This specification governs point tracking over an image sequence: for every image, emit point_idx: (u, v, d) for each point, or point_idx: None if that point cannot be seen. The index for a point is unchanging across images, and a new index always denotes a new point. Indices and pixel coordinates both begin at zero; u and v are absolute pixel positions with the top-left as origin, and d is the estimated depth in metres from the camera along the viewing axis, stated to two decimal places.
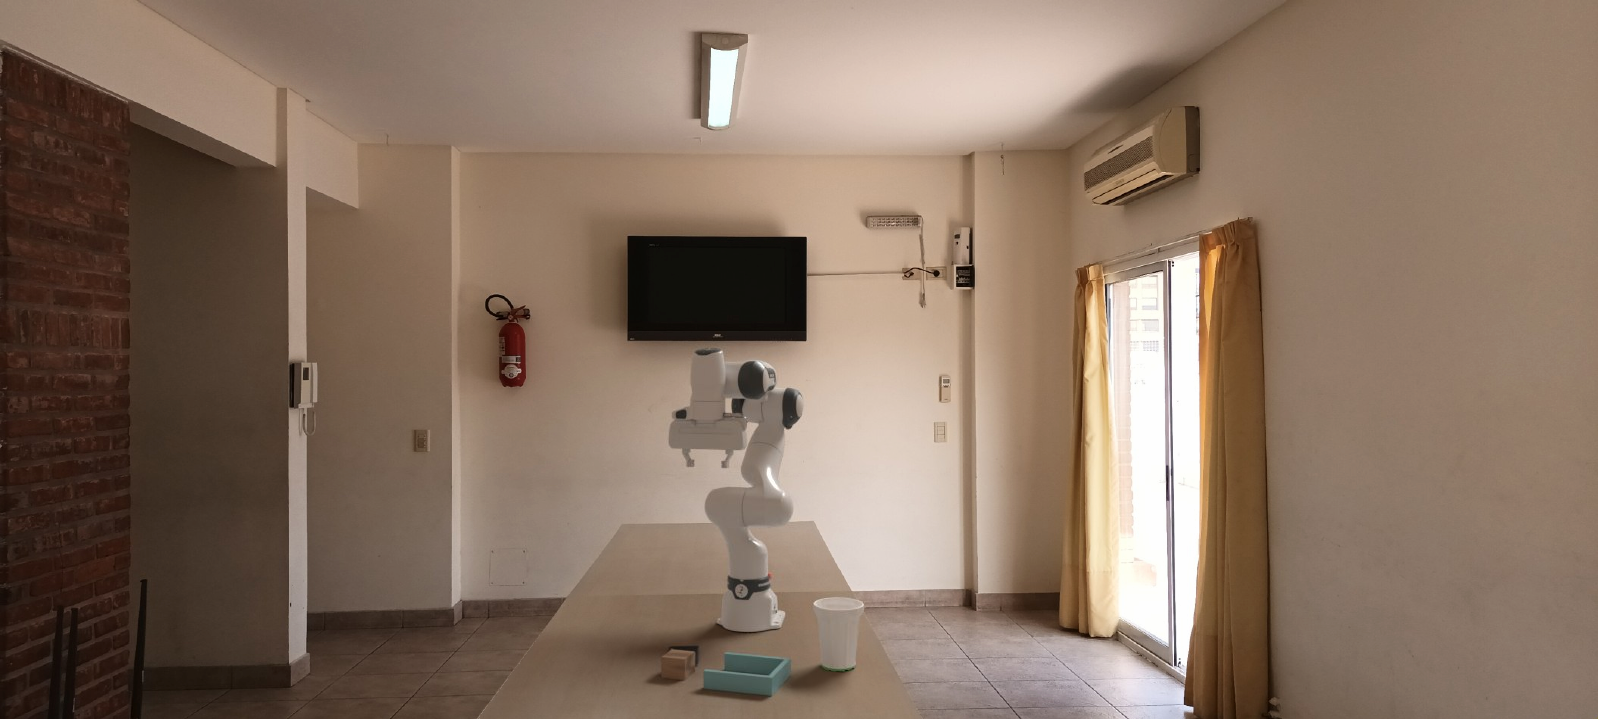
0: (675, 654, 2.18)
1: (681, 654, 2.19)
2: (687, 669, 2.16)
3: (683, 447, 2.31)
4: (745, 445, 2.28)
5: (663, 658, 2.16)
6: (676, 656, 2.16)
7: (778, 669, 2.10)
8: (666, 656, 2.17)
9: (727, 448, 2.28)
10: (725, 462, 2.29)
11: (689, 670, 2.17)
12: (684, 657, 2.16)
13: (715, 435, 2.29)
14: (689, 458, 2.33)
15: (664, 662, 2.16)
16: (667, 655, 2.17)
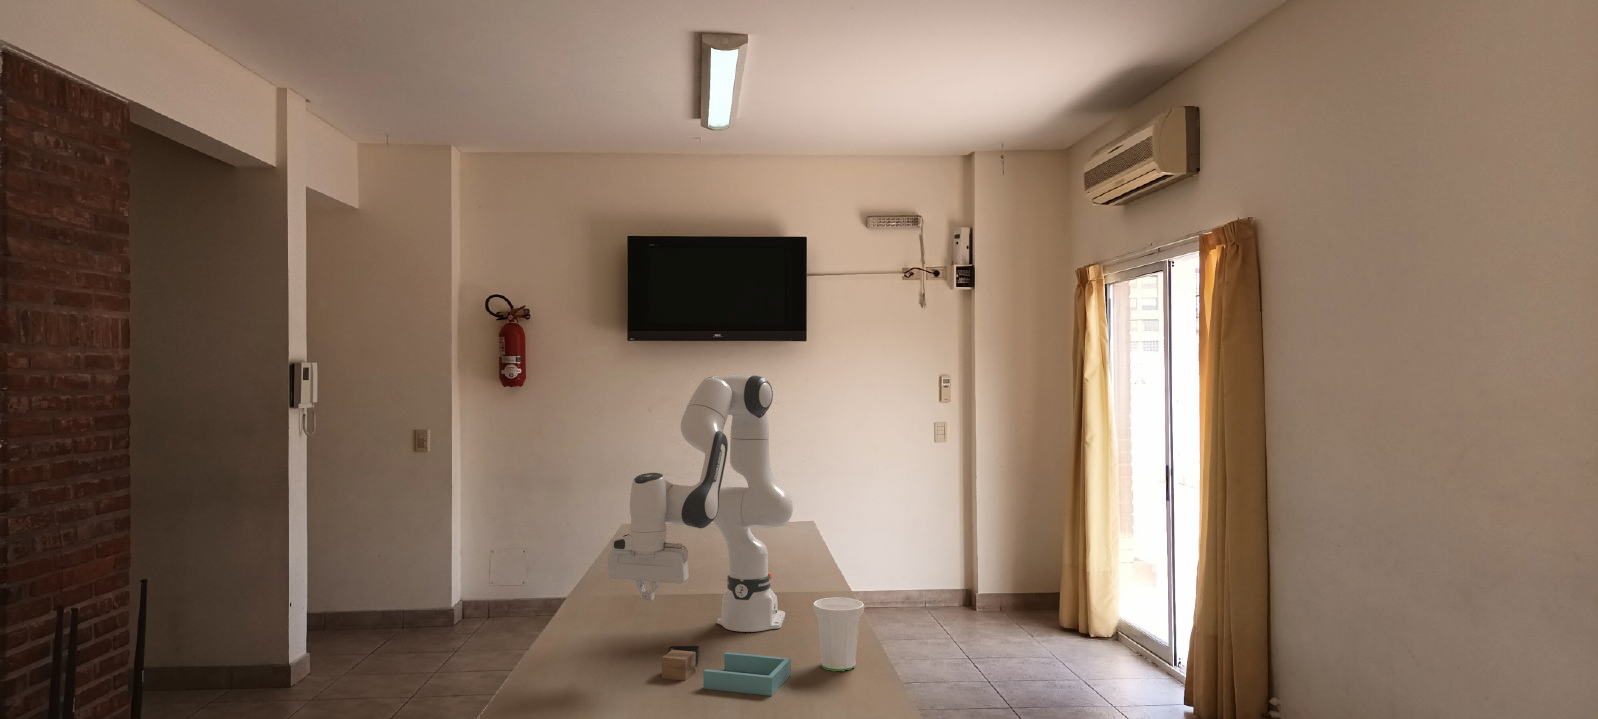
0: (676, 654, 2.18)
1: (681, 654, 2.18)
2: (687, 669, 2.16)
3: (622, 578, 2.21)
4: (686, 577, 2.18)
5: (663, 659, 2.16)
6: (676, 657, 2.16)
7: (778, 669, 2.10)
8: (667, 656, 2.16)
9: (667, 581, 2.17)
10: (650, 594, 2.20)
11: (690, 670, 2.17)
12: (685, 657, 2.16)
13: (654, 567, 2.18)
14: (643, 590, 2.21)
15: (665, 663, 2.16)
16: (668, 655, 2.17)
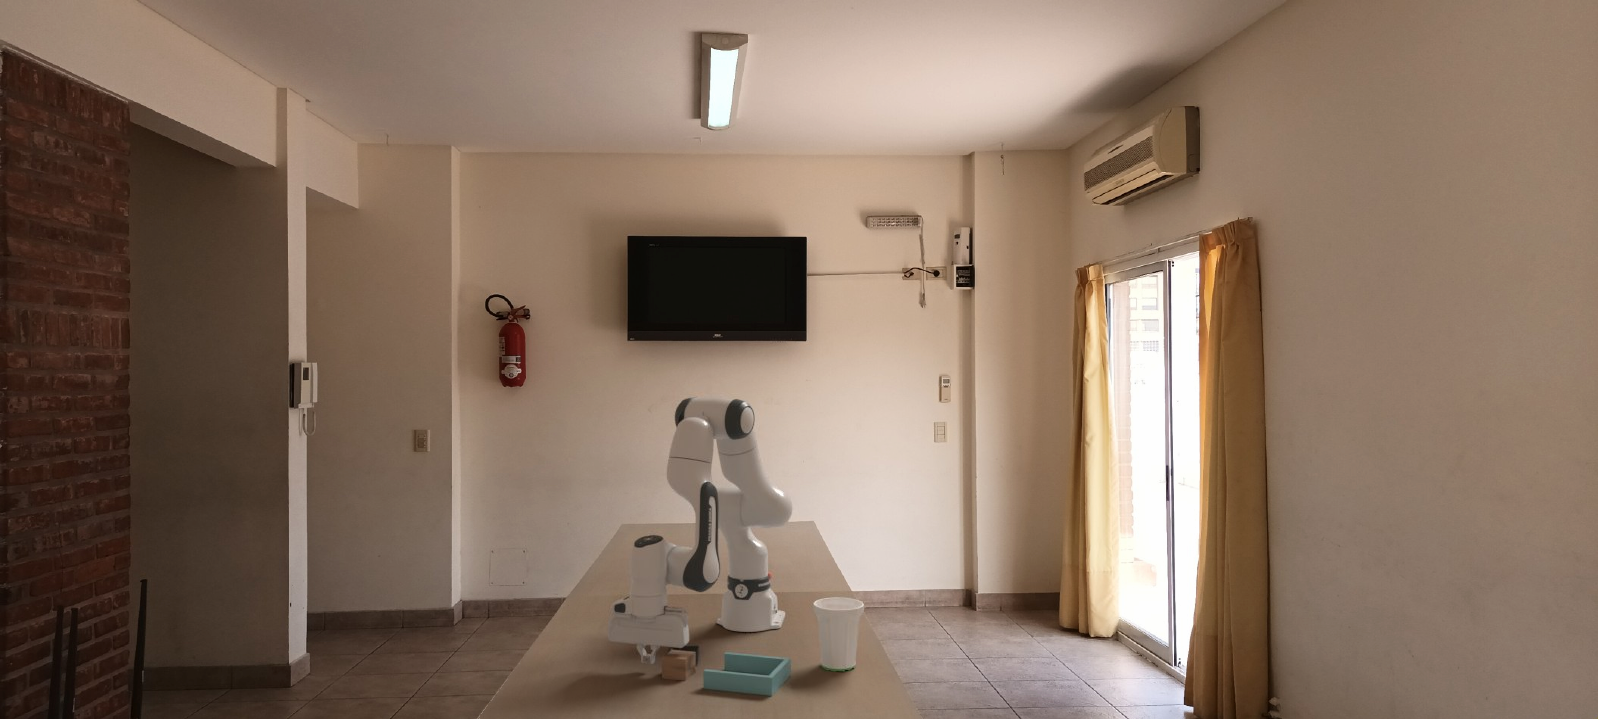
0: (676, 654, 2.18)
1: (681, 654, 2.18)
2: (688, 669, 2.16)
3: (622, 641, 2.21)
4: (687, 641, 2.18)
5: (663, 659, 2.16)
6: (676, 657, 2.16)
7: (778, 669, 2.10)
8: (667, 656, 2.16)
9: (668, 645, 2.17)
10: (650, 657, 2.20)
11: (690, 670, 2.17)
12: (685, 657, 2.16)
13: (655, 630, 2.18)
14: (644, 653, 2.21)
15: (665, 663, 2.16)
16: (668, 655, 2.17)
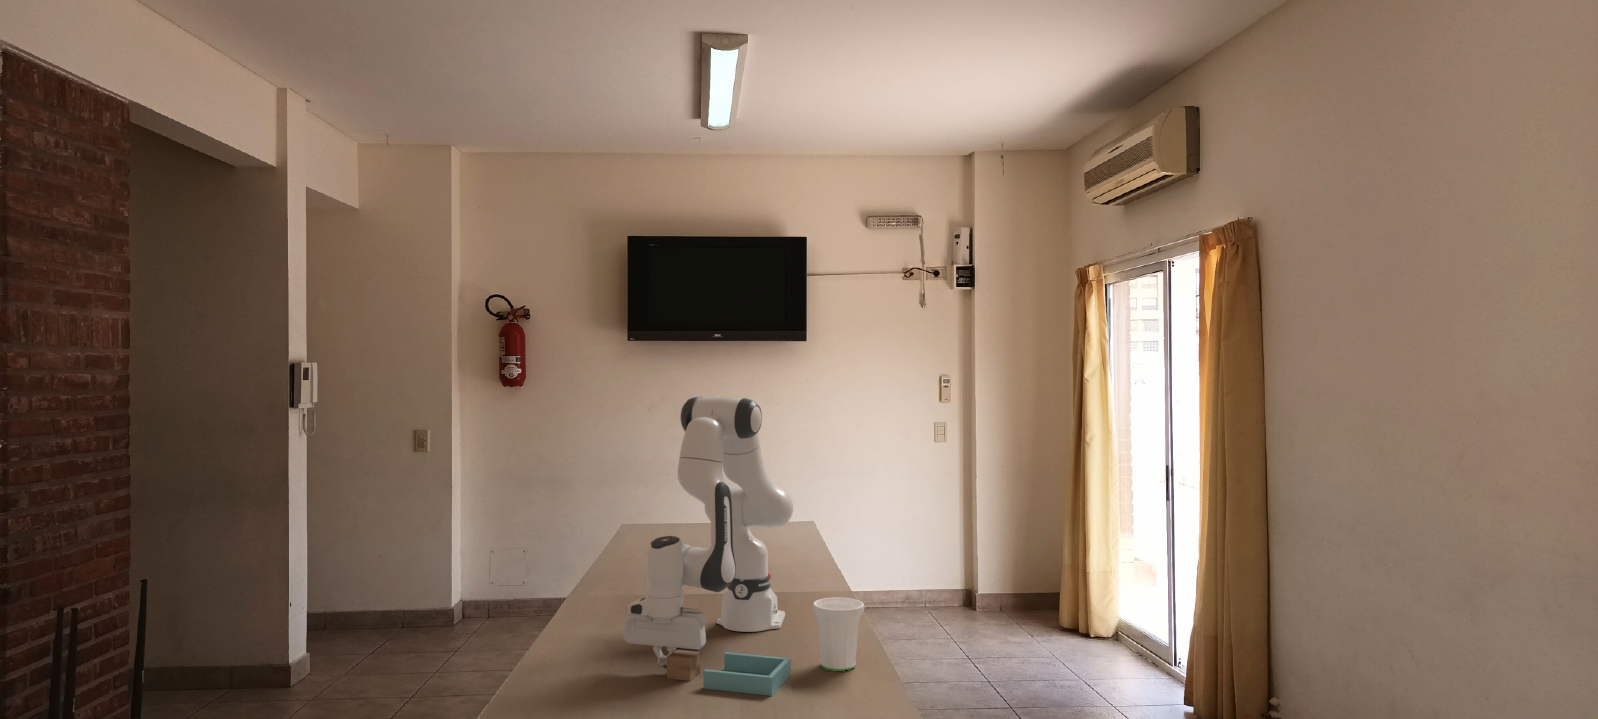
0: (681, 654, 2.17)
1: (686, 654, 2.18)
2: (692, 669, 2.15)
3: (639, 642, 2.20)
4: (703, 643, 2.17)
5: (668, 659, 2.16)
6: (681, 657, 2.16)
7: (778, 669, 2.10)
8: (671, 656, 2.16)
9: (684, 647, 2.16)
10: None
11: (694, 670, 2.17)
12: (689, 657, 2.15)
13: (671, 632, 2.17)
14: (661, 654, 2.20)
15: (669, 663, 2.15)
16: (672, 655, 2.17)
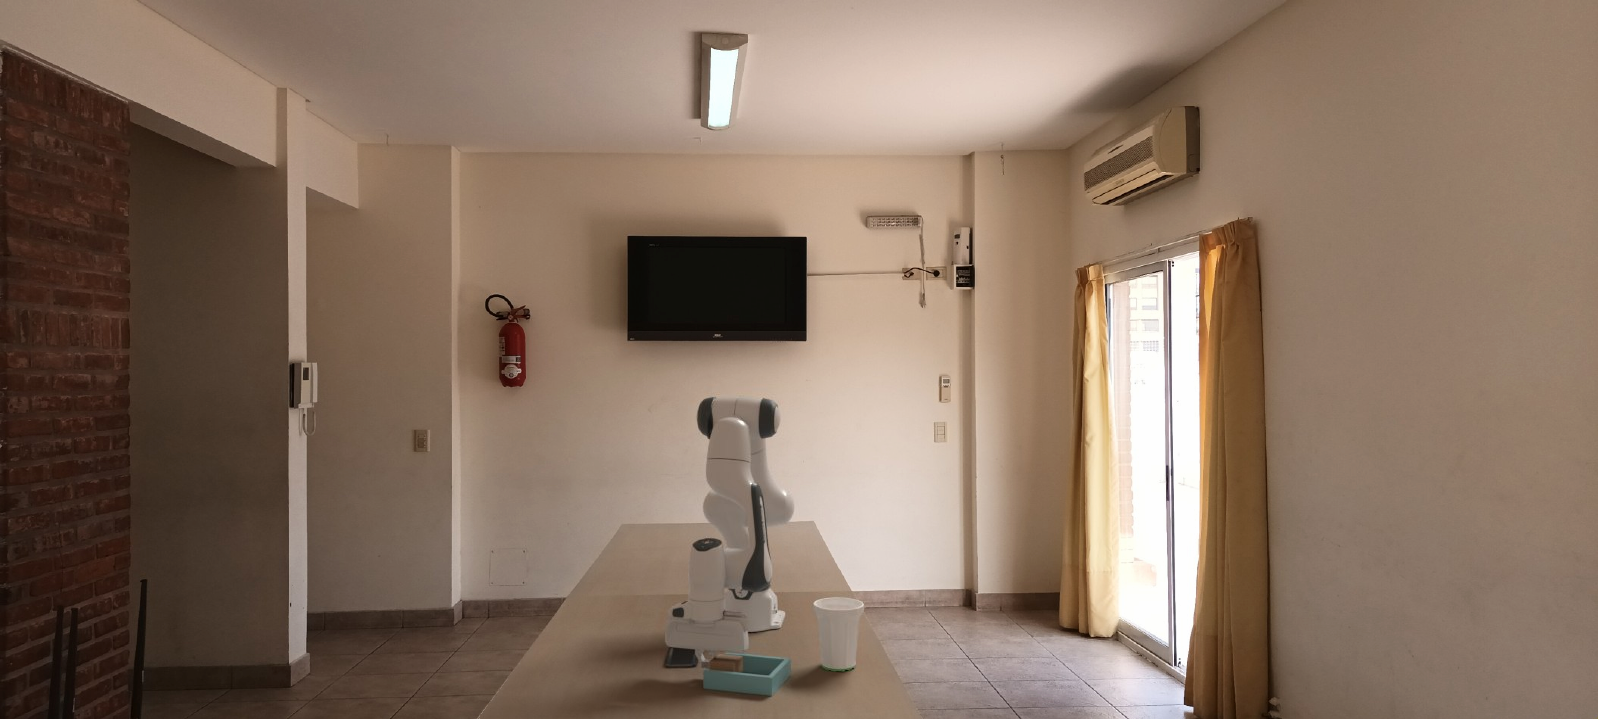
0: (723, 659, 2.14)
1: (729, 658, 2.15)
2: None
3: (680, 646, 2.16)
4: (746, 647, 2.14)
5: (711, 663, 2.12)
6: (724, 661, 2.12)
7: (778, 669, 2.10)
8: (714, 661, 2.13)
9: (727, 651, 2.13)
10: None
11: None
12: (732, 662, 2.12)
13: (714, 636, 2.14)
14: (703, 658, 2.17)
15: (712, 667, 2.12)
16: (715, 660, 2.14)
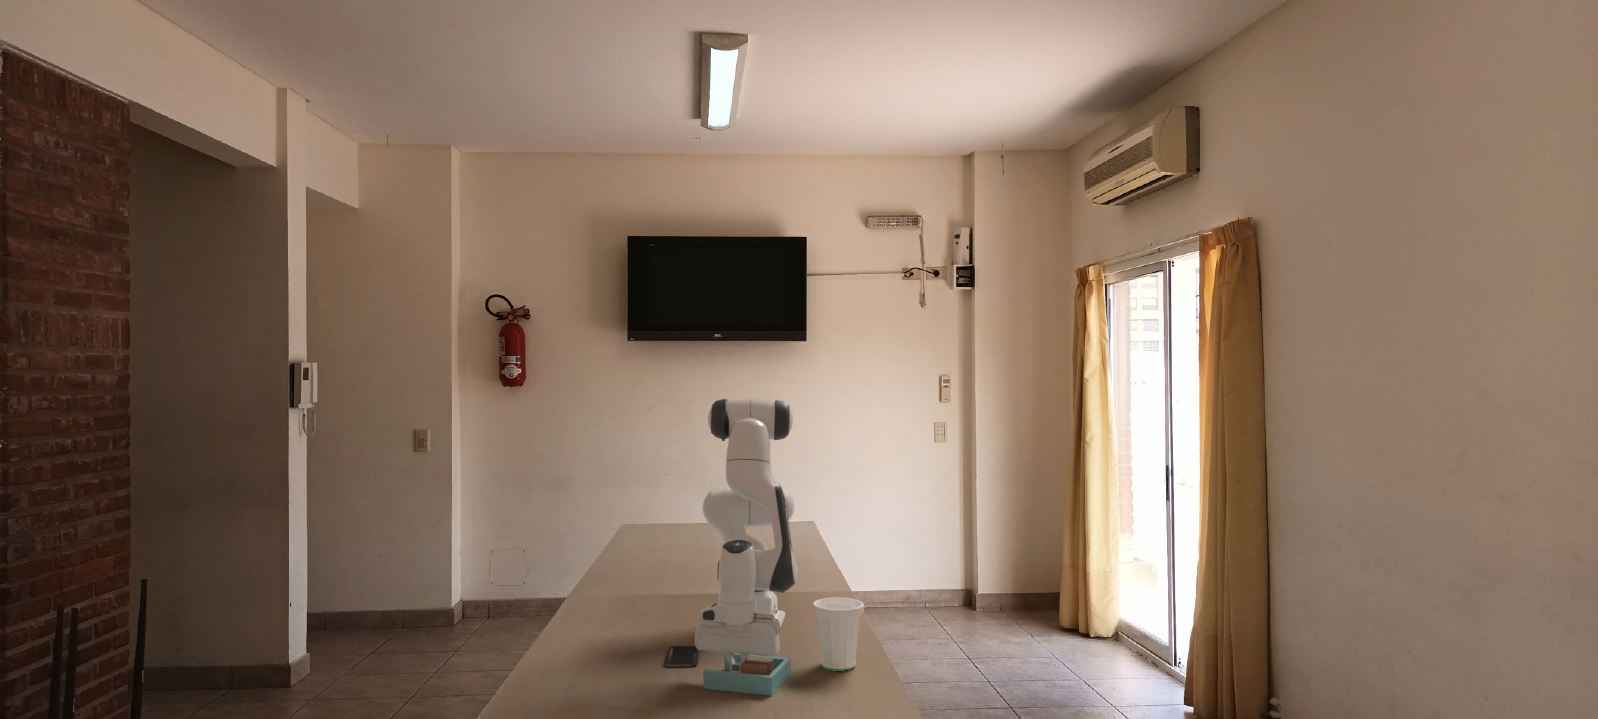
0: (755, 662, 2.12)
1: (760, 661, 2.13)
2: None
3: (711, 649, 2.14)
4: (778, 650, 2.12)
5: (742, 666, 2.10)
6: (755, 664, 2.10)
7: (778, 669, 2.10)
8: (745, 664, 2.11)
9: (759, 654, 2.11)
10: (740, 666, 2.13)
11: None
12: (764, 665, 2.10)
13: (745, 639, 2.12)
14: (733, 661, 2.15)
15: (744, 670, 2.10)
16: (746, 663, 2.11)
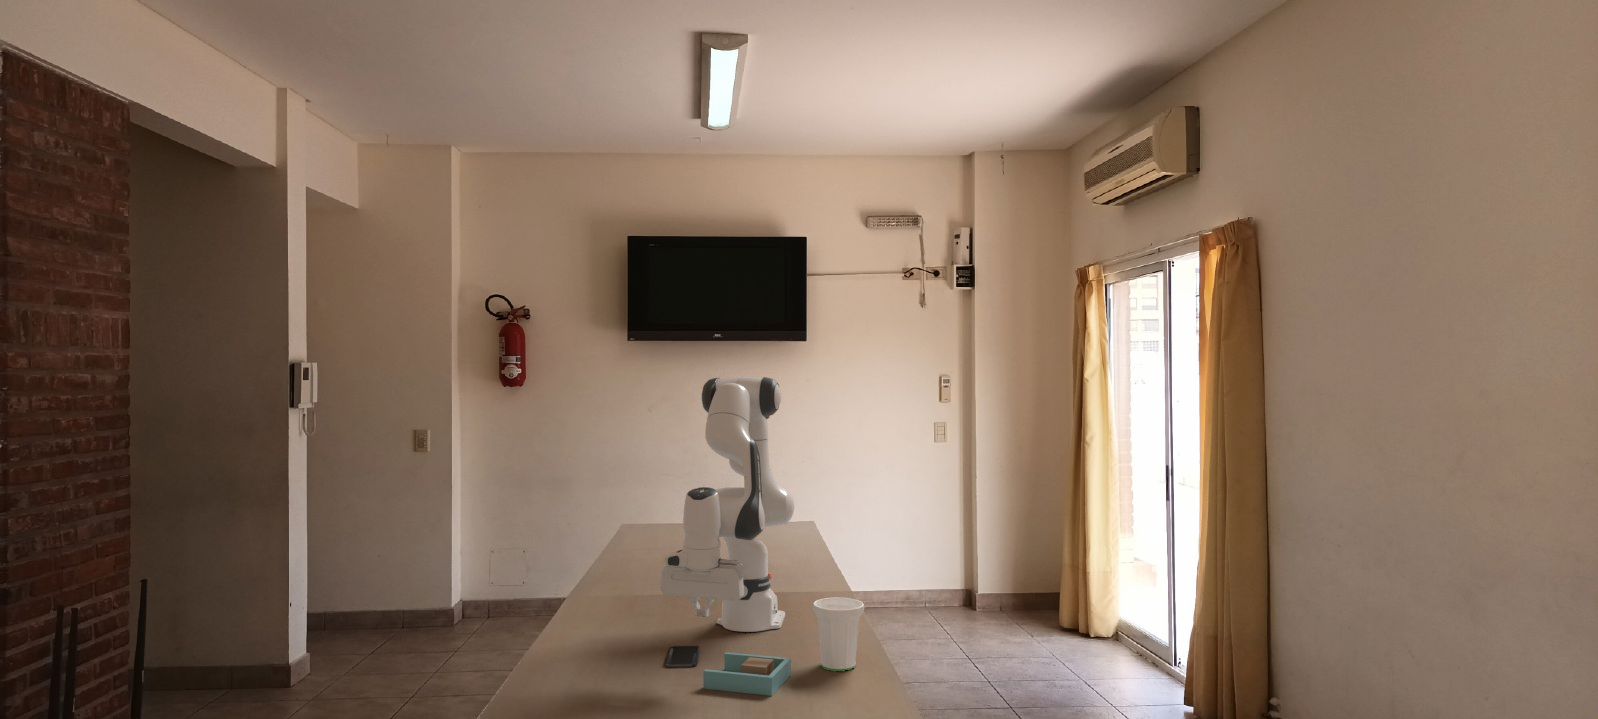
0: (755, 662, 2.12)
1: (760, 662, 2.13)
2: None
3: (676, 594, 2.17)
4: (742, 594, 2.15)
5: (742, 667, 2.10)
6: (756, 665, 2.10)
7: (778, 669, 2.10)
8: (745, 664, 2.11)
9: (723, 598, 2.14)
10: (705, 611, 2.16)
11: None
12: (764, 665, 2.10)
13: (709, 583, 2.15)
14: (698, 606, 2.18)
15: (744, 671, 2.10)
16: (746, 663, 2.11)
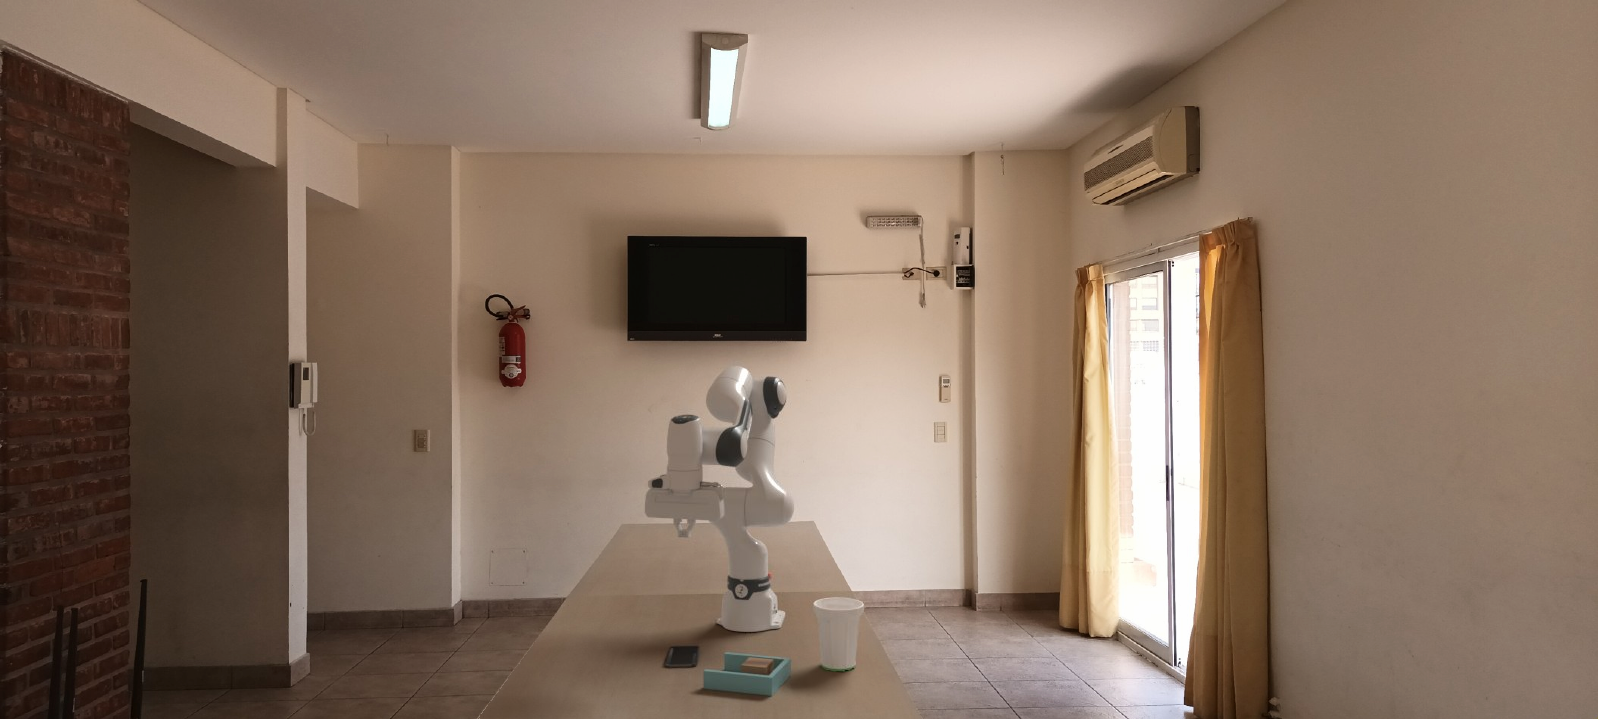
0: (755, 662, 2.12)
1: (760, 662, 2.13)
2: None
3: (659, 516, 2.27)
4: (722, 515, 2.24)
5: (743, 667, 2.10)
6: (756, 665, 2.10)
7: (778, 669, 2.10)
8: (746, 664, 2.11)
9: (704, 518, 2.24)
10: (687, 531, 2.26)
11: None
12: (764, 665, 2.10)
13: (691, 505, 2.25)
14: (680, 528, 2.27)
15: (744, 671, 2.10)
16: (746, 663, 2.11)
